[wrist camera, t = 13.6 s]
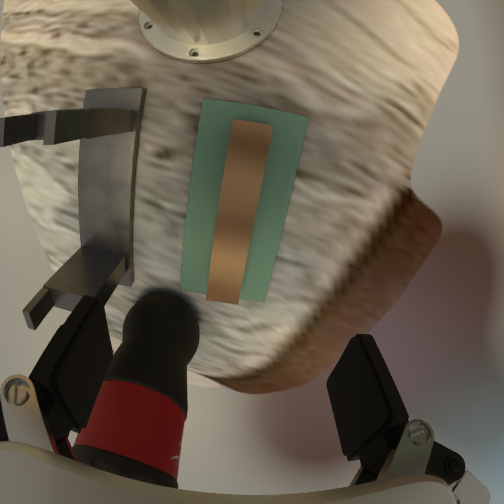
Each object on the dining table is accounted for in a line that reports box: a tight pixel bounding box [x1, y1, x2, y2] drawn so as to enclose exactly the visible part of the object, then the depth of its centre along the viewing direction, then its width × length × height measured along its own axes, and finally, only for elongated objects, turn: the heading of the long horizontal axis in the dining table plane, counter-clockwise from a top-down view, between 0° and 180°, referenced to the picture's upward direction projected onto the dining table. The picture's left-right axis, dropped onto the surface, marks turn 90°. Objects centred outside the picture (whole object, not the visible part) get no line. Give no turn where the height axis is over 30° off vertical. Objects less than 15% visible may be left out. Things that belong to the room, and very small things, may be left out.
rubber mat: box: [180, 98, 309, 302], centre depth 25 cm, size 19×9×1 cm, turn 169°
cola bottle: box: [72, 293, 199, 489], centre depth 17 cm, size 8×8×30 cm
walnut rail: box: [206, 119, 273, 304], centre depth 23 cm, size 16×3×3 cm, turn 170°
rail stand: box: [0, 88, 146, 330], centre depth 18 cm, size 20×6×12 cm, turn 169°
